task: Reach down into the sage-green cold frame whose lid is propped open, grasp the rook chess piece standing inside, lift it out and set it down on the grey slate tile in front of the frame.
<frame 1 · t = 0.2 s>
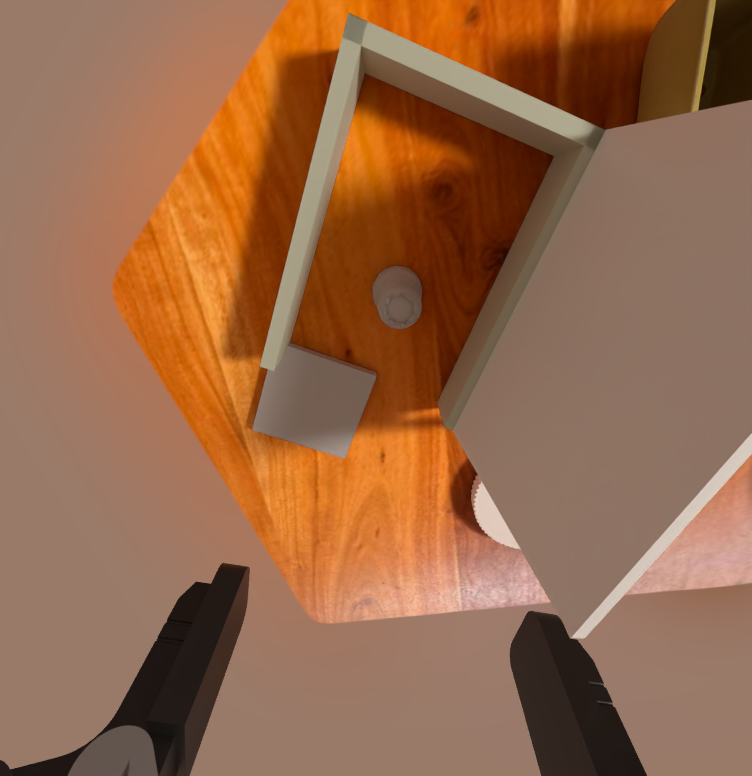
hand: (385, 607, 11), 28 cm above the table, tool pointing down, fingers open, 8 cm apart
plastic lid: (531, 484, 43), on the table
flower pot: (669, 98, 29), on the table
rook chess piece: (396, 290, 35), on the table
lid propped: (521, 305, 30), resting on cold frame
cold frame: (409, 257, 33), on the table
slate tile: (313, 399, 39), on the table
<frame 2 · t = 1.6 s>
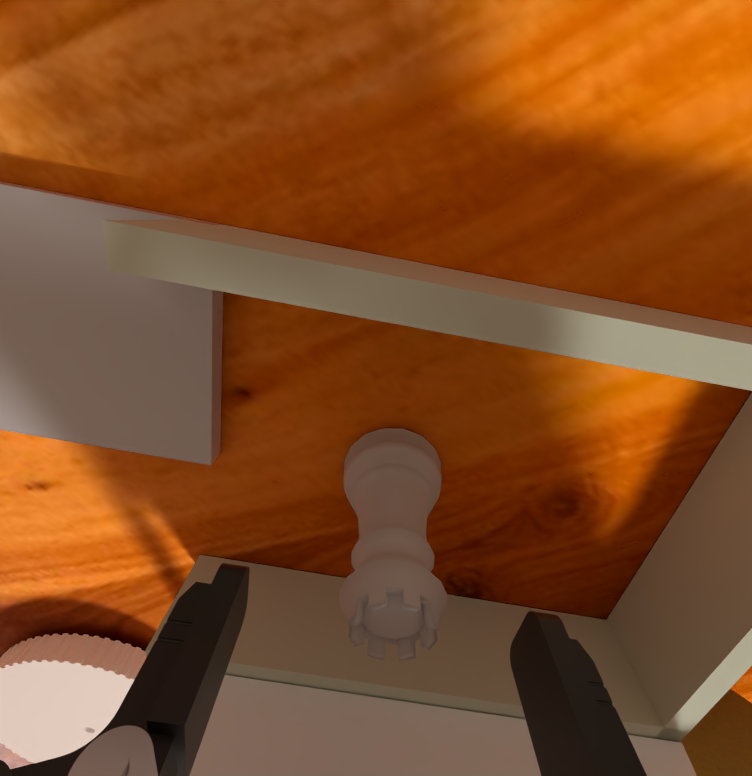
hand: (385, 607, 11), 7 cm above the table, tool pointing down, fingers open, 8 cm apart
plastic lid: (118, 682, 27), on the table
flower pot: (656, 694, 25), on the table
rook chess piece: (392, 461, 18), on the table
lid propped: (419, 707, 17), resting on cold frame
cold frame: (454, 475, 18), on the table
slate tile: (100, 331, 16), on the table
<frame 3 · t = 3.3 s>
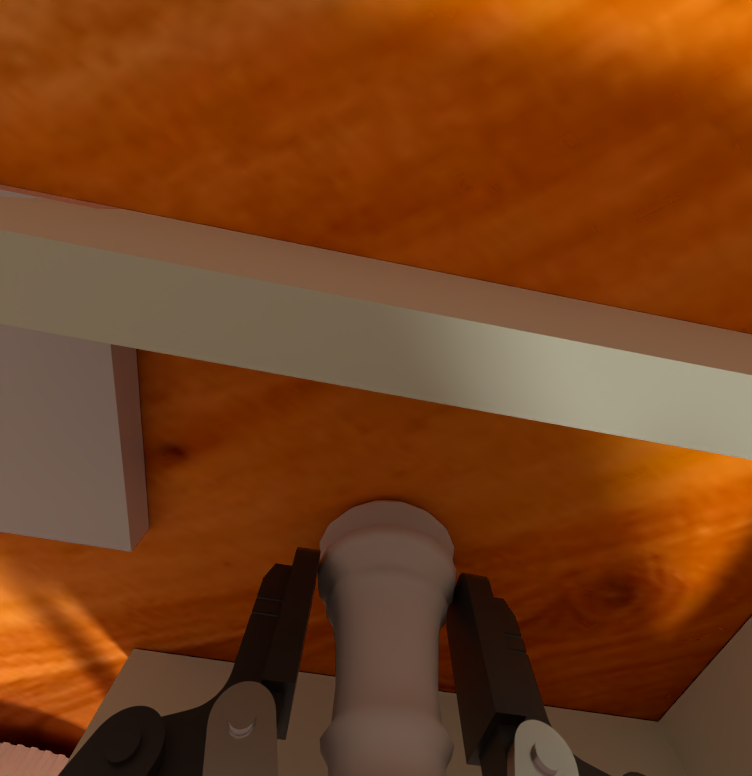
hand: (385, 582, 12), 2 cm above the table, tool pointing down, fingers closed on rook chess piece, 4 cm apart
rook chess piece: (386, 539, 13), on the table, touching gripper
cold frame: (471, 557, 13), on the table
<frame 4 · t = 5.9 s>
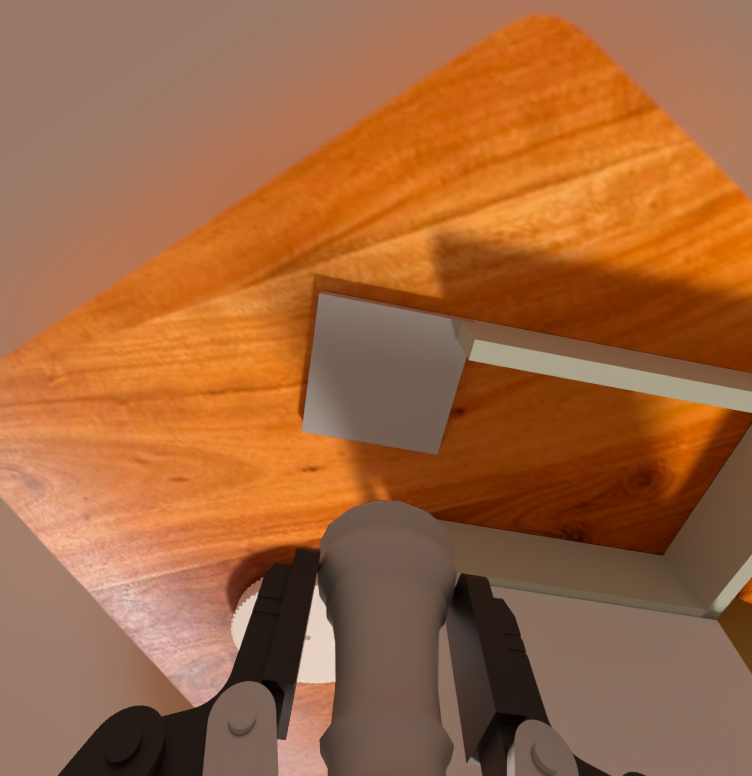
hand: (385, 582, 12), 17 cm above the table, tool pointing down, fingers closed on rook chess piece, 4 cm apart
plastic lid: (312, 609, 38), on the table
flower pot: (690, 610, 36), on the table
rook chess piece: (386, 539, 13), point 15 cm above the table, touching gripper
lid propped: (562, 599, 28), resting on cold frame
cold frame: (579, 460, 29), on the table
slate tile: (383, 375, 27), on the table
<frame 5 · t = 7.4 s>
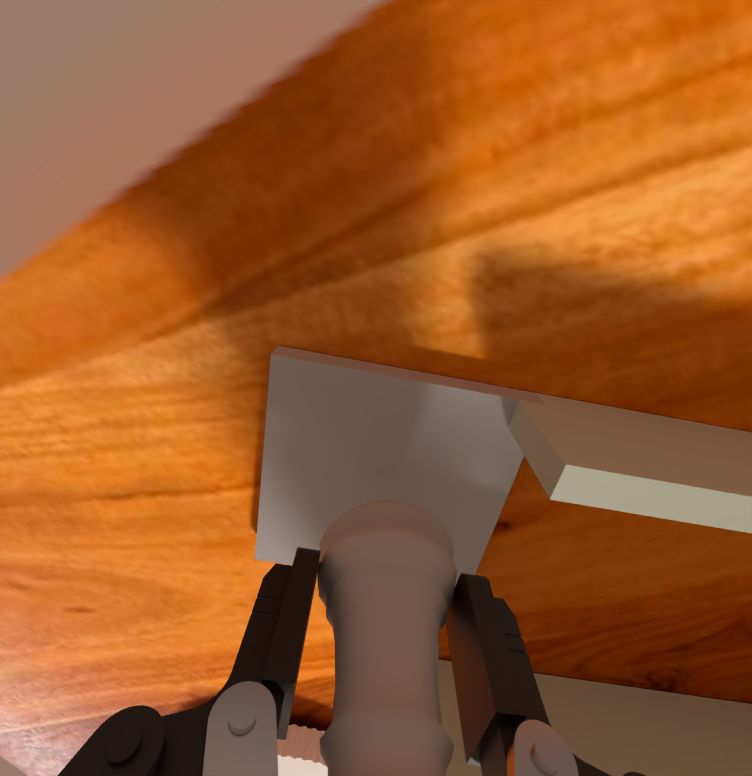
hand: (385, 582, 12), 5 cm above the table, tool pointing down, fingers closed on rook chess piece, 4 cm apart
plastic lid: (286, 756, 28), on the table
rook chess piece: (386, 539, 13), point 4 cm above the table, touching gripper
cold frame: (684, 593, 19), on the table
slate tile: (383, 475, 17), on the table
when the fingers open (4 cm above the table, at t = 8.5 s): rook chess piece drops 1 cm, resting on slate tile.
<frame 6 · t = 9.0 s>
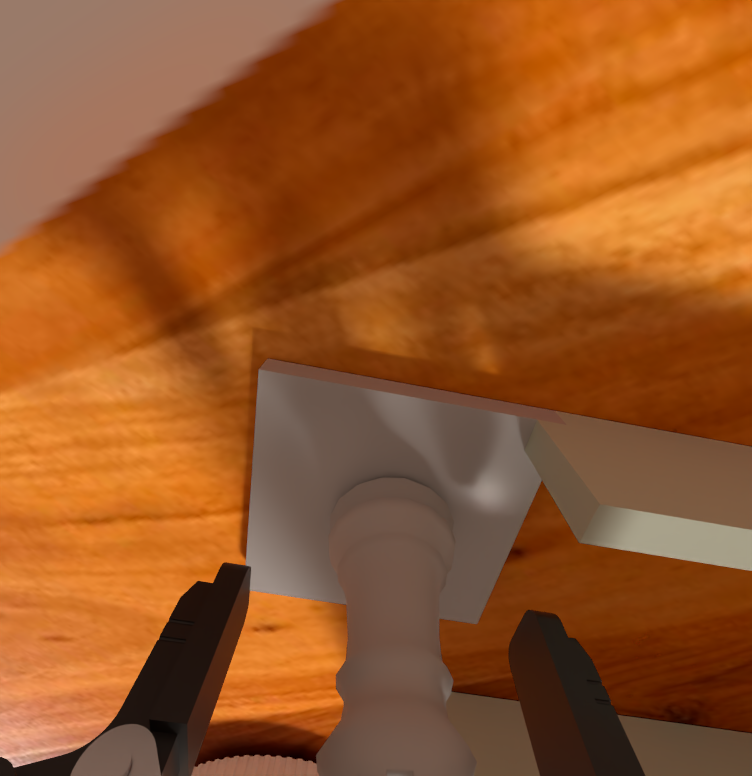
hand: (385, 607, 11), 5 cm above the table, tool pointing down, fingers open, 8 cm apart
rook chess piece: (390, 514, 14), point 1 cm above the table, touching slate tile
cold frame: (711, 623, 18), on the table
slate tile: (385, 499, 15), on the table
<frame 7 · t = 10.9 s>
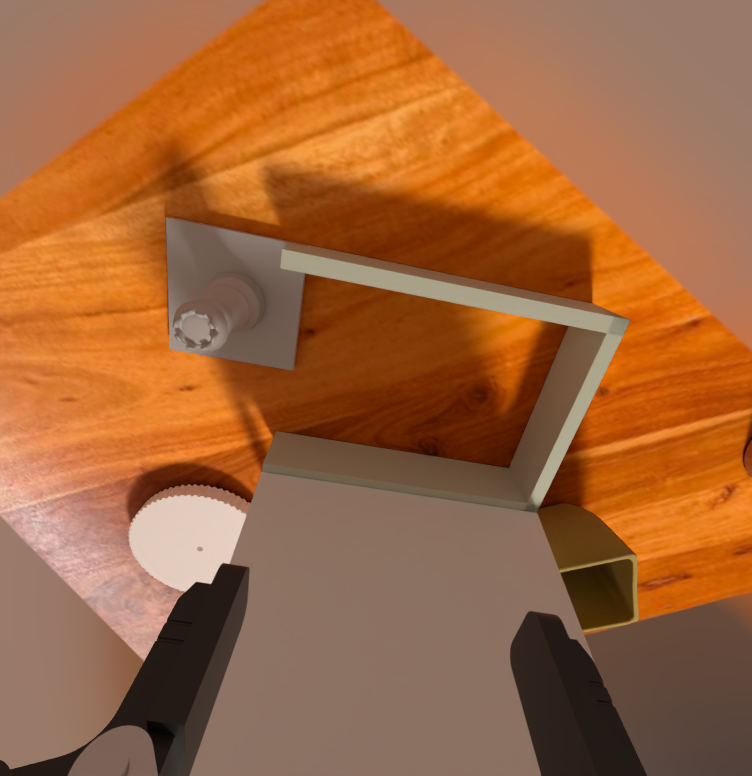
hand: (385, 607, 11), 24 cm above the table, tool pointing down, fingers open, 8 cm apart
plastic lid: (210, 528, 42), on the table
flower pot: (543, 521, 41), on the table
rook chess piece: (238, 300, 30), point 1 cm above the table, touching slate tile
lid propped: (403, 496, 33), resting on cold frame
cold frame: (421, 378, 34), on the table
slate tile: (238, 297, 31), on the table
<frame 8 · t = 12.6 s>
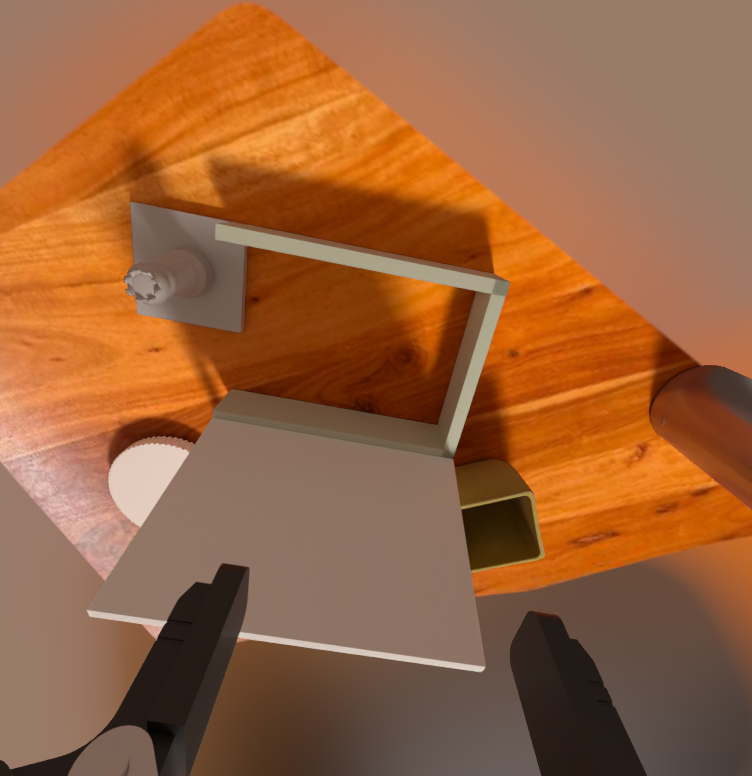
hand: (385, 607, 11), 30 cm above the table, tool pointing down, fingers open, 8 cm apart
plastic lid: (180, 479, 47), on the table
flower pot: (474, 477, 46), on the table
rook chess piece: (192, 271, 36), point 1 cm above the table, touching slate tile
lid propped: (334, 441, 38), resting on cold frame
cold frame: (352, 340, 39), on the table
slate tile: (193, 270, 37), on the table
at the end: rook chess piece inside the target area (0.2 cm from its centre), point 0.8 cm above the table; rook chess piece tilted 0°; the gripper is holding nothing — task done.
